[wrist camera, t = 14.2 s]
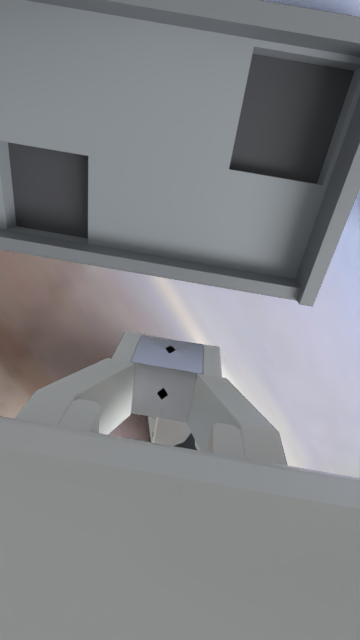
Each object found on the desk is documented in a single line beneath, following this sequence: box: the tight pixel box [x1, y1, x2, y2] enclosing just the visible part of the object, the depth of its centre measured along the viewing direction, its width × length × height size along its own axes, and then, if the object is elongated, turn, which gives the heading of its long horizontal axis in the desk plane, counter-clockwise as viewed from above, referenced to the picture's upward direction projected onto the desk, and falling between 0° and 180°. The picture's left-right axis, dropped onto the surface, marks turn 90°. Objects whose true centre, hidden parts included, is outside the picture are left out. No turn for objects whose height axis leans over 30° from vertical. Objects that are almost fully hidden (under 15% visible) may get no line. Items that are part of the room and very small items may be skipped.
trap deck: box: [0, 0, 360, 307], centre depth 32 cm, size 24×54×6 cm, turn 81°
